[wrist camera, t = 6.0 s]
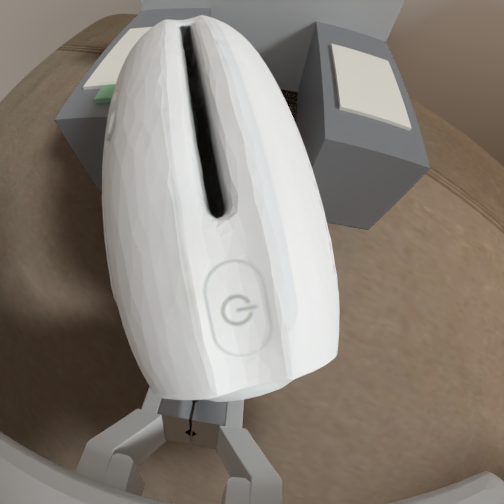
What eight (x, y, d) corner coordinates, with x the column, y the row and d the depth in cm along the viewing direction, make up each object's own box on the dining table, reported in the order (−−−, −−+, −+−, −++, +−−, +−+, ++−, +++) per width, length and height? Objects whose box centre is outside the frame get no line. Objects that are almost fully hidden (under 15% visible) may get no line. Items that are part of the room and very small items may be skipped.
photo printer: (277, 360, 14) (441, 376, 3) (195, 376, 14) (79, 461, 2) (236, 185, 18) (254, -18, 6) (166, 197, 17) (109, 2, 5)
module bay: (100, 192, 17) (13, 39, 5) (158, 70, 21) (142, -49, 10) (368, 229, 17) (495, 95, 6) (354, 97, 22) (404, -17, 10)
